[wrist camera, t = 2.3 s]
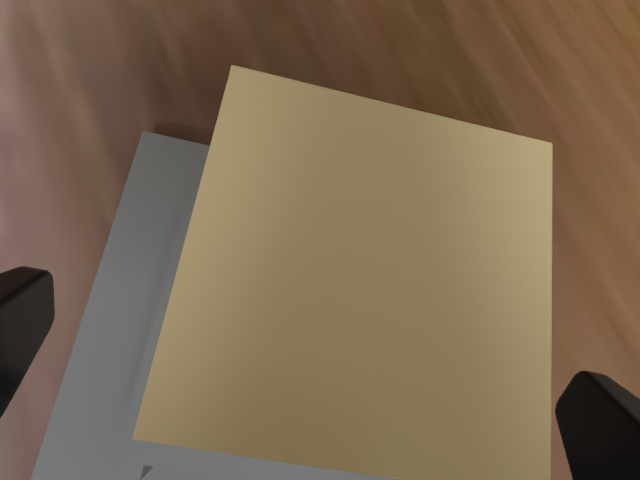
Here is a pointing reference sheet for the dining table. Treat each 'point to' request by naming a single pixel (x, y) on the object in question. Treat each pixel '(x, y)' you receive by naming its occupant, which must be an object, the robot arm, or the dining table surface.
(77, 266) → the dining table surface
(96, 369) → the grey square socket base
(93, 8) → the dining table surface
